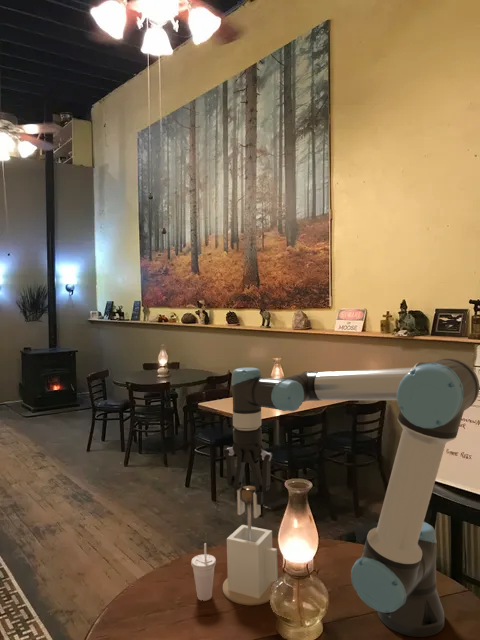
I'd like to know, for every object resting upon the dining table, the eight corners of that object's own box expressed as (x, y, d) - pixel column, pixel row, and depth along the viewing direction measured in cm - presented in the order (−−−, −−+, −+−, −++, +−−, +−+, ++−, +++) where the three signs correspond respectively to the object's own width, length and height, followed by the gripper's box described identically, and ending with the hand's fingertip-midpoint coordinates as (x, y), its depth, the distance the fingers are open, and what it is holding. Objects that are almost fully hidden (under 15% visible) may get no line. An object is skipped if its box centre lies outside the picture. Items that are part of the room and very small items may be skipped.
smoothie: (213, 605, 129) (211, 550, 128) (189, 602, 130) (187, 548, 130) (219, 590, 135) (218, 538, 135) (196, 588, 136) (194, 537, 136)
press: (287, 580, 139) (286, 528, 139) (265, 611, 126) (263, 553, 125) (238, 568, 146) (237, 518, 145) (212, 596, 133) (211, 541, 132)
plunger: (264, 566, 137) (263, 486, 136) (255, 577, 132) (253, 494, 131) (245, 561, 140) (243, 483, 139) (235, 572, 134) (233, 490, 133)
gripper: (282, 426, 134) (284, 514, 135) (225, 420, 141) (227, 503, 142) (271, 433, 127) (273, 525, 128) (212, 427, 135) (214, 514, 136)
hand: (249, 514), depth 135 cm, fingers closed on plunger, 4 cm apart
